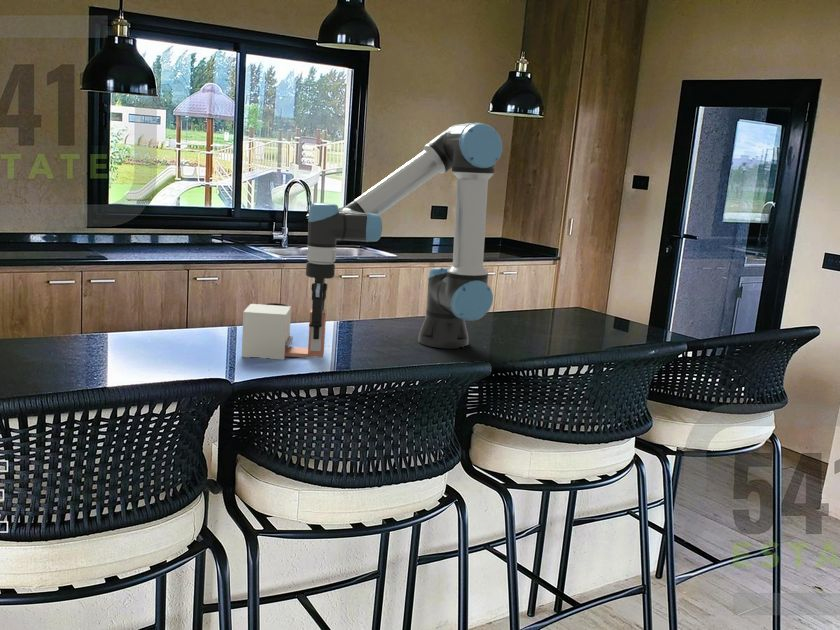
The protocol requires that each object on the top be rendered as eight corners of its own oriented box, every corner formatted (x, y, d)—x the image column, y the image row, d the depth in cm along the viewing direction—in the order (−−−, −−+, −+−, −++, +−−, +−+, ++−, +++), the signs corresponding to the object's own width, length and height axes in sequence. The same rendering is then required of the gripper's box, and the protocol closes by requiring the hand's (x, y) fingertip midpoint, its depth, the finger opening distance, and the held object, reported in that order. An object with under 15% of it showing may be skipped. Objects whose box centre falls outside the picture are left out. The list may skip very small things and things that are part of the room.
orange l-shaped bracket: (324, 352, 230) (326, 309, 228) (322, 358, 224) (324, 314, 221) (256, 348, 229) (257, 304, 227) (252, 354, 223) (253, 309, 220)
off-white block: (292, 349, 233) (294, 306, 230) (287, 359, 221) (289, 314, 219) (248, 346, 232) (250, 303, 230) (241, 357, 220) (243, 311, 218)
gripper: (309, 257, 231) (305, 340, 235) (303, 265, 214) (299, 355, 218) (336, 259, 231) (332, 342, 235) (333, 267, 214) (328, 356, 218)
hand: (316, 348), depth 227 cm, fingers closed on orange l-shaped bracket, 4 cm apart
